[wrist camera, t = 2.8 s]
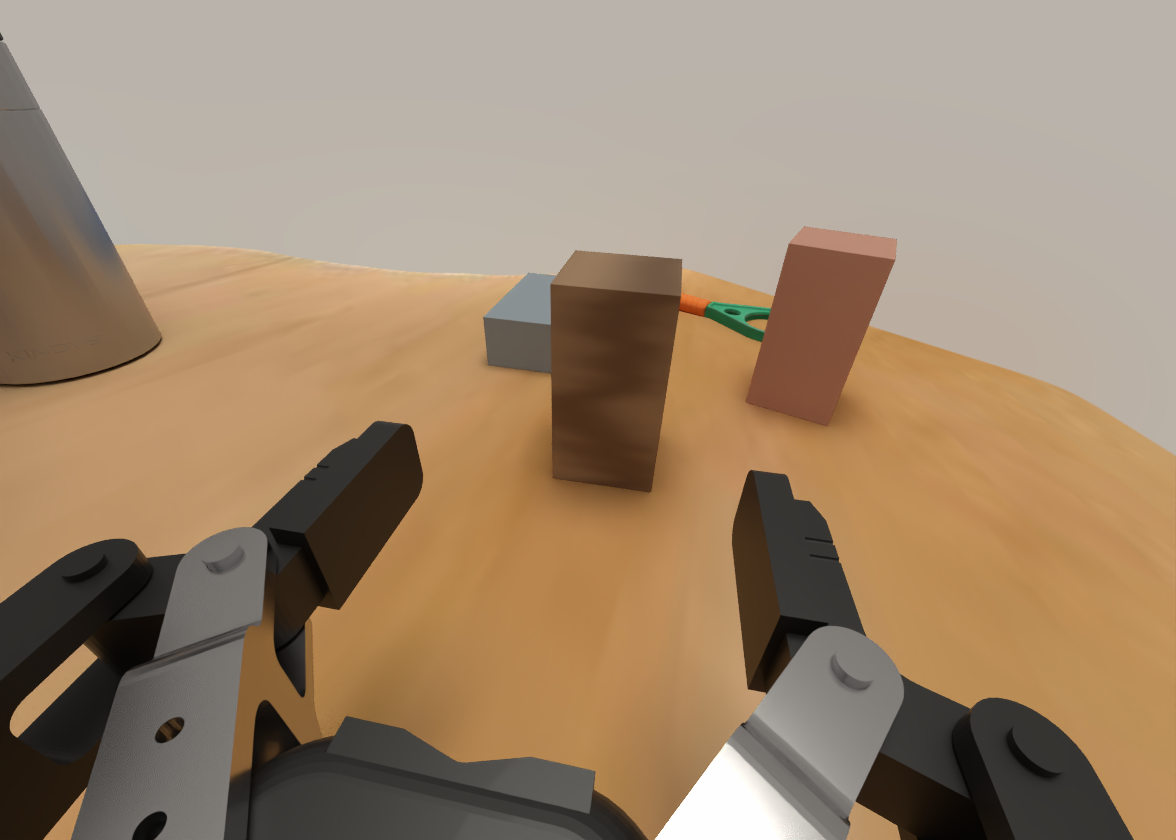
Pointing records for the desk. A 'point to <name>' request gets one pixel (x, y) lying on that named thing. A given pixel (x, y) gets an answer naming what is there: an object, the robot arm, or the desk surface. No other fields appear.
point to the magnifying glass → (727, 314)
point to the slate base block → (521, 326)
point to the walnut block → (611, 365)
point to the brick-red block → (819, 320)
